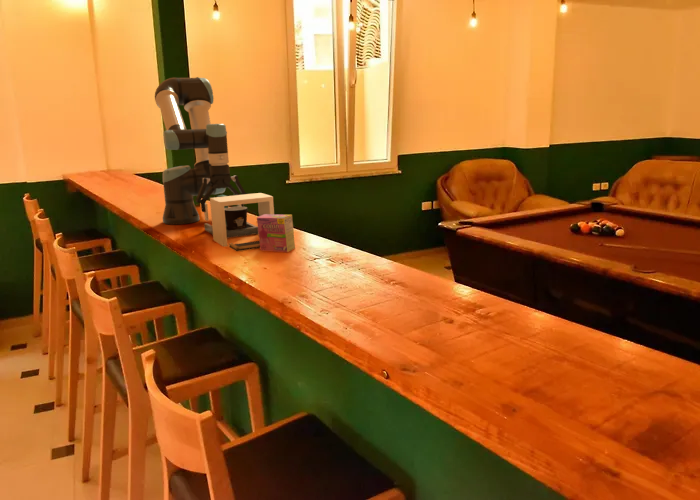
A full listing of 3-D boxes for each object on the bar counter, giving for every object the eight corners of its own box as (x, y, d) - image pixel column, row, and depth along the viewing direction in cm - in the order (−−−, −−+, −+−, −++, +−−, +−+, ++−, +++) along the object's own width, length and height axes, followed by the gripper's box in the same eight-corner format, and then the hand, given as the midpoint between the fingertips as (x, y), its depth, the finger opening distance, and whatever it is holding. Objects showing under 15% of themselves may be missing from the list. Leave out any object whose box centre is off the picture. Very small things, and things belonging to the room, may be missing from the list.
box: (259, 251, 187) (256, 217, 184) (268, 247, 192) (265, 213, 189) (287, 253, 183) (284, 217, 180) (295, 248, 188) (292, 214, 185)
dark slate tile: (229, 246, 193) (229, 243, 192) (272, 240, 200) (272, 237, 200) (236, 251, 186) (236, 247, 185) (281, 244, 193) (281, 241, 193)
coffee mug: (250, 231, 216) (248, 206, 214) (248, 236, 208) (246, 209, 205) (219, 233, 215) (217, 207, 213) (216, 237, 207) (214, 211, 204)
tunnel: (213, 240, 203) (209, 197, 199) (263, 233, 212) (261, 192, 208) (223, 246, 193) (219, 202, 189) (275, 239, 202) (273, 196, 198)
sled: (204, 229, 221) (201, 197, 218) (241, 225, 228) (239, 193, 225) (219, 238, 204) (216, 203, 201) (258, 233, 211) (256, 199, 208)
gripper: (189, 167, 208) (194, 223, 213) (252, 162, 220) (256, 215, 225) (184, 166, 215) (189, 220, 220) (246, 161, 226) (250, 213, 231)
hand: (223, 218), depth 222 cm, fingers open, 13 cm apart
